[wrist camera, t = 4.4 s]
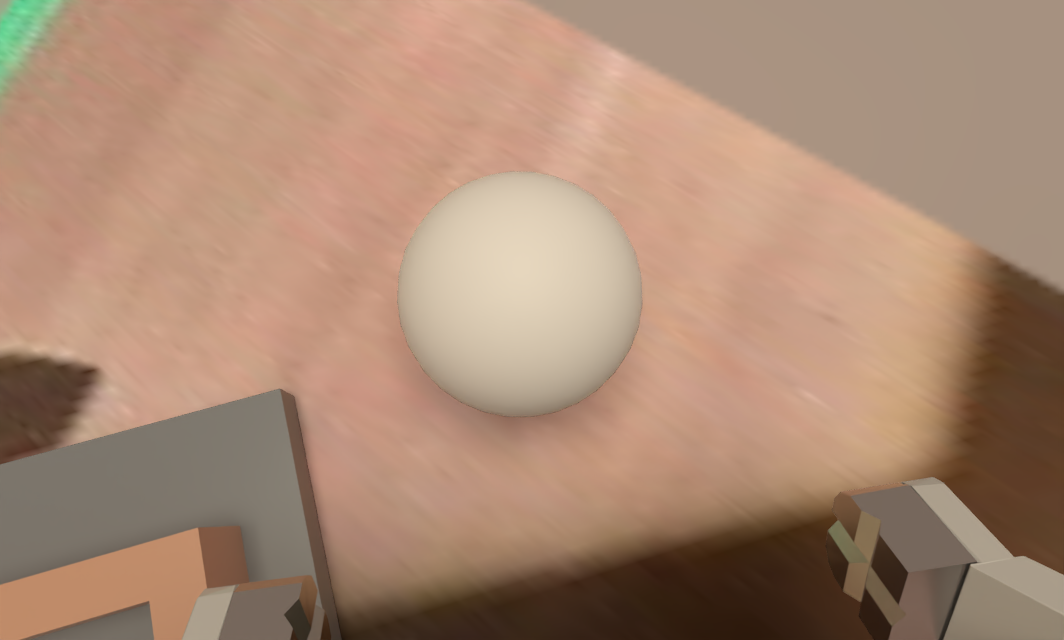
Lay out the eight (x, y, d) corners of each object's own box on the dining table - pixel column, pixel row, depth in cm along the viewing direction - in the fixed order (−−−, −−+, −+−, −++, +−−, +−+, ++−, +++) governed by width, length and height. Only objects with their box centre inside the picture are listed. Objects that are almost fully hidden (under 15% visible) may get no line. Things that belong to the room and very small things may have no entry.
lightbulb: (445, 276, 25) (399, 107, 15) (605, 293, 25) (673, 136, 15) (421, 437, 24) (351, 376, 13) (593, 455, 24) (661, 409, 13)
